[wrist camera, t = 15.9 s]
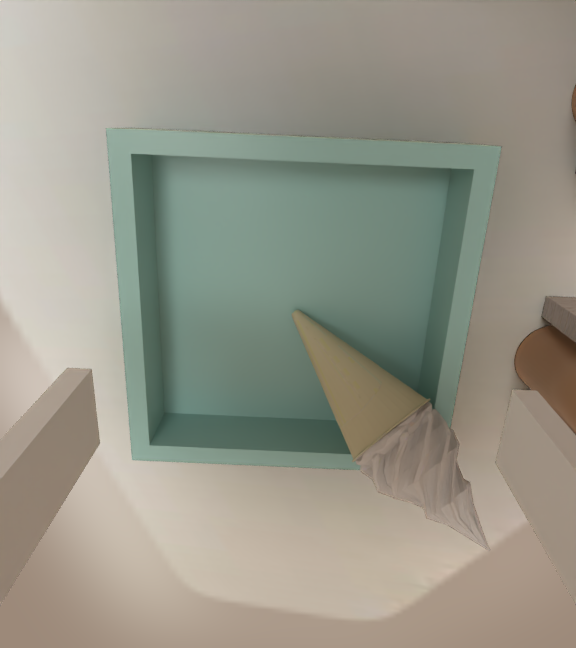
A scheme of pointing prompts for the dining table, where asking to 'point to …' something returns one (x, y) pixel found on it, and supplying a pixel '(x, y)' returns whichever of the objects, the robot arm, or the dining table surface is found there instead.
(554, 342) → the cylinder
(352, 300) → the tray
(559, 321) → the clip row
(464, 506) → the ice cream cone
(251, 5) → the dining table surface
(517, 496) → the robot arm
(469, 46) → the dining table surface
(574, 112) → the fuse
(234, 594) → the dining table surface
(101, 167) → the dining table surface
